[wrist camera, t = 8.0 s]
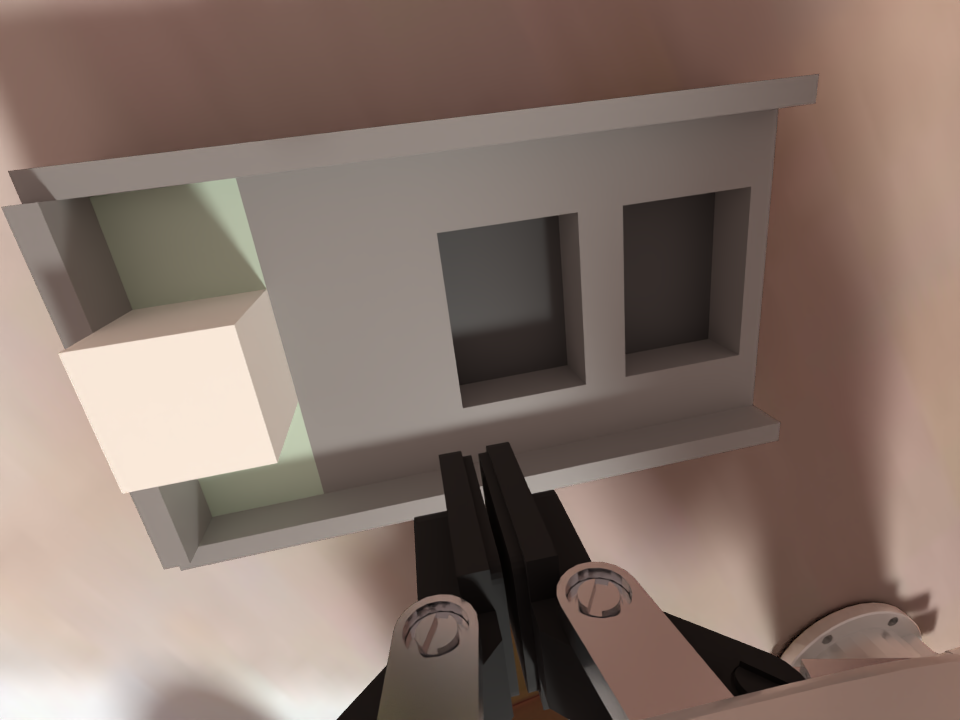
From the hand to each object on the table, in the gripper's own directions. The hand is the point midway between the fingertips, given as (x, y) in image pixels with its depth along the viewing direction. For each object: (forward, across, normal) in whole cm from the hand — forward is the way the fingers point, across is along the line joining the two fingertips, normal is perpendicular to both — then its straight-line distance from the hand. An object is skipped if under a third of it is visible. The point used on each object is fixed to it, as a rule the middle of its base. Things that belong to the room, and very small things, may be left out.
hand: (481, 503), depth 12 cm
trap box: (+14, -2, -1) cm, 15 cm away
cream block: (+11, +9, -2) cm, 14 cm away
